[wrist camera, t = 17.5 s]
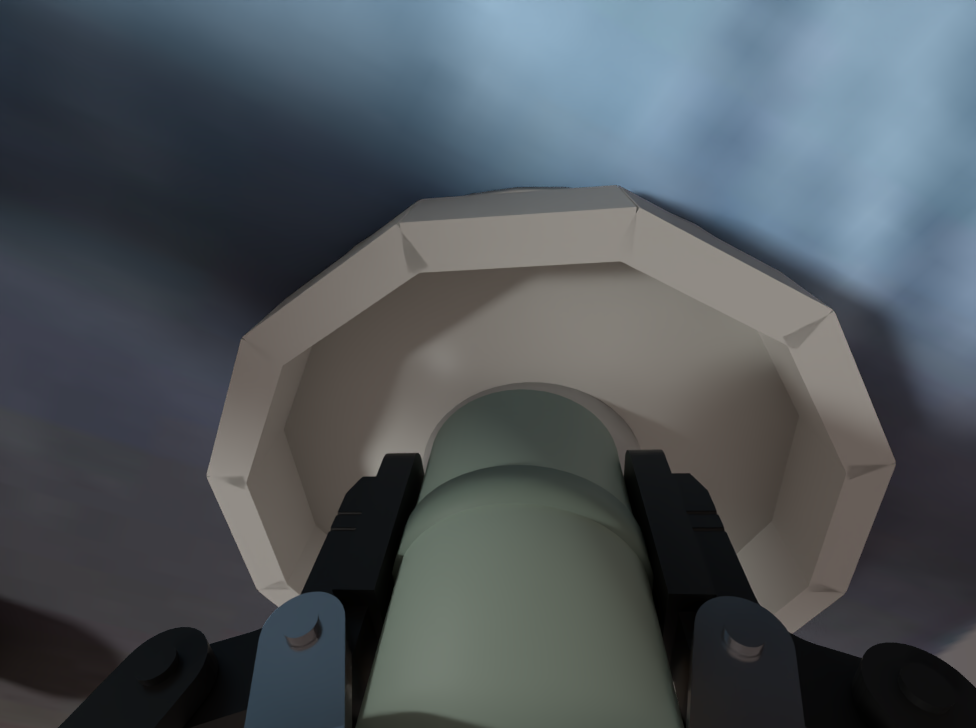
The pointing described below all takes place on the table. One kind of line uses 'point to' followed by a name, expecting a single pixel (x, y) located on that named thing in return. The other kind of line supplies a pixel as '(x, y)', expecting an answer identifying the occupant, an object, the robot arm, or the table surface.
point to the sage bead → (521, 582)
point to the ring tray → (559, 377)
